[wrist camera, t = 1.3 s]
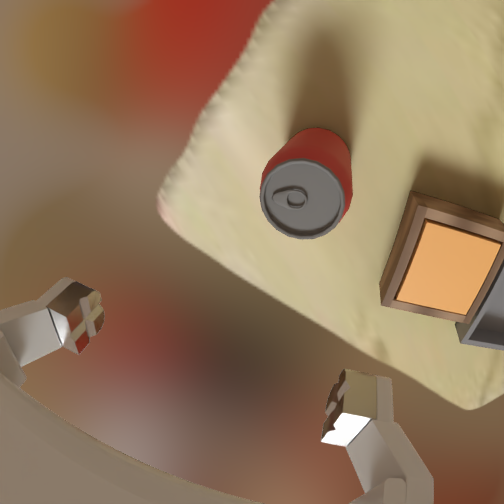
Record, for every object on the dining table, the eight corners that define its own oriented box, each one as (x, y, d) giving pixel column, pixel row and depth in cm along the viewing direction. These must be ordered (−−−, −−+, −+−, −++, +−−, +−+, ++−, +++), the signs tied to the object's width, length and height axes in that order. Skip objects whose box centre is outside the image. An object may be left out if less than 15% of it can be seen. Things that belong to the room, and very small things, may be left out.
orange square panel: (496, 239, 25) (500, 245, 24) (463, 308, 29) (465, 314, 28) (424, 217, 26) (426, 222, 25) (395, 292, 31) (396, 299, 30)
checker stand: (499, 219, 26) (513, 235, 23) (461, 302, 32) (468, 324, 29) (410, 190, 28) (418, 204, 25) (379, 283, 35) (381, 305, 31)
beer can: (284, 124, 29) (250, 147, 19) (352, 129, 27) (357, 155, 17) (284, 187, 32) (252, 241, 22) (348, 193, 31) (347, 252, 21)
